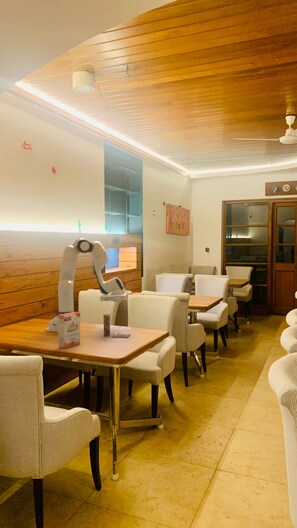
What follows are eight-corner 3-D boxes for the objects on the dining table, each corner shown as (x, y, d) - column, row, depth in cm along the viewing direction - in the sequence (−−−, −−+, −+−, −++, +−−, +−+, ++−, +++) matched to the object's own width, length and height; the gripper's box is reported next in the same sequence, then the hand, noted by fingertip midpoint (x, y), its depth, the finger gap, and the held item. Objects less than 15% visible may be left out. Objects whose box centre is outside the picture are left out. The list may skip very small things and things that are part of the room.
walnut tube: (102, 336, 273) (102, 315, 273) (104, 334, 278) (104, 314, 277) (109, 336, 273) (109, 315, 272) (111, 335, 277) (110, 314, 277)
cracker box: (65, 349, 241) (64, 315, 240) (58, 347, 244) (57, 314, 243) (80, 344, 253) (80, 312, 252) (74, 342, 256) (73, 311, 255)
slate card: (110, 337, 271) (110, 336, 271) (113, 334, 279) (113, 333, 279) (127, 338, 269) (127, 336, 269) (130, 335, 277) (130, 334, 277)
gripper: (102, 292, 301) (96, 296, 288) (128, 291, 296) (123, 294, 283) (103, 300, 301) (97, 304, 288) (129, 299, 297) (124, 303, 283)
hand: (110, 299), depth 285 cm, fingers open, 8 cm apart
